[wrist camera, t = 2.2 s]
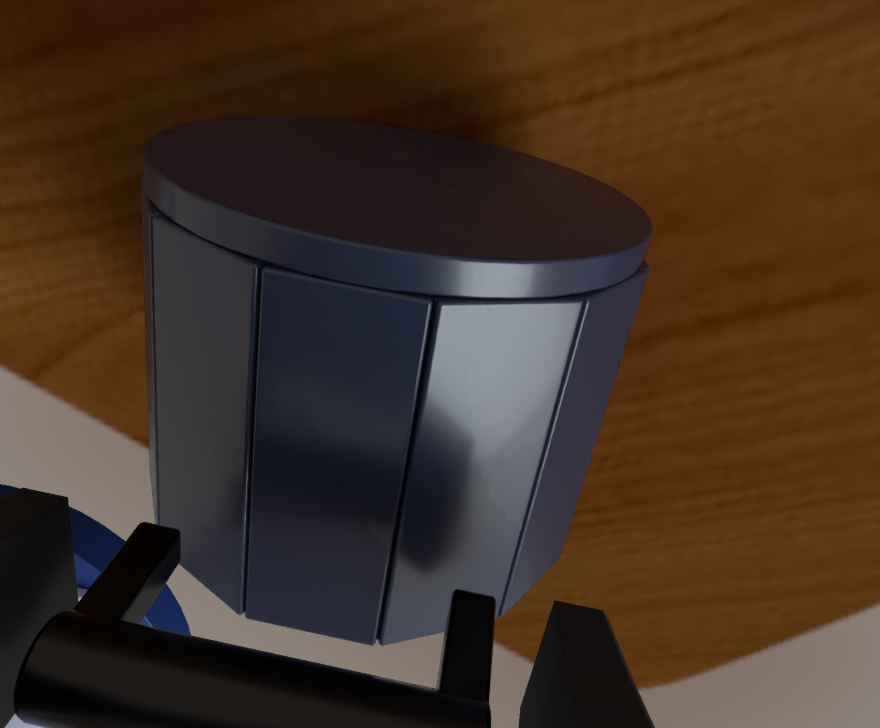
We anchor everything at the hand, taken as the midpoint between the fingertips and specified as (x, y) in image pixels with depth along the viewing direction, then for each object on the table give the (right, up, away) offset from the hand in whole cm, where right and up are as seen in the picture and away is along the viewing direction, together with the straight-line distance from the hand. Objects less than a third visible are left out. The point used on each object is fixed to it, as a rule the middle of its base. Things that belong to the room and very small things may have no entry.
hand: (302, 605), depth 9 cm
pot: (+1, +5, 0) cm, 6 cm away
